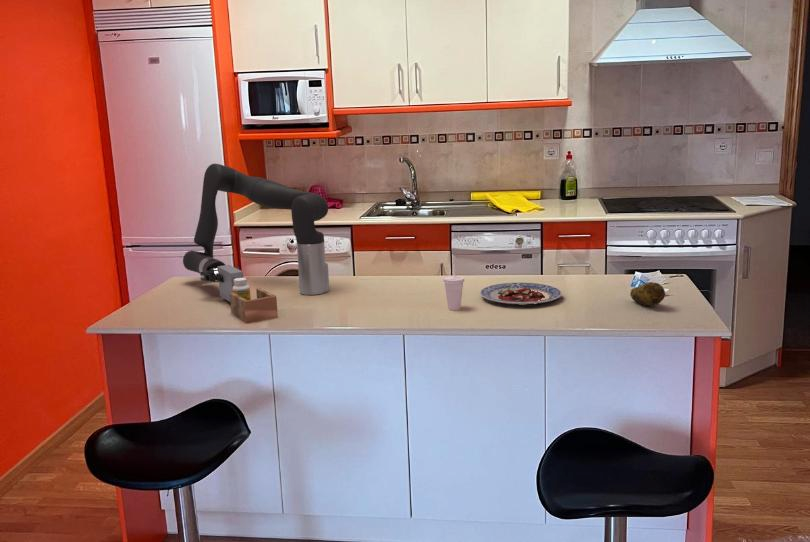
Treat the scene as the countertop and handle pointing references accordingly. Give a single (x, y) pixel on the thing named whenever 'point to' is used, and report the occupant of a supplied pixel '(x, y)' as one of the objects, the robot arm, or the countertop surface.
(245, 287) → the supplement bottle
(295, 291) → the countertop surface
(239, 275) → the grey rectangular box
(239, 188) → the robot arm
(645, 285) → the potato
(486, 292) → the ceramic plate
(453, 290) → the smoothie
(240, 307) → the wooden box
